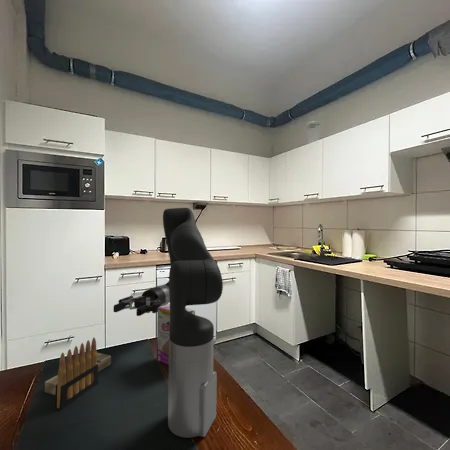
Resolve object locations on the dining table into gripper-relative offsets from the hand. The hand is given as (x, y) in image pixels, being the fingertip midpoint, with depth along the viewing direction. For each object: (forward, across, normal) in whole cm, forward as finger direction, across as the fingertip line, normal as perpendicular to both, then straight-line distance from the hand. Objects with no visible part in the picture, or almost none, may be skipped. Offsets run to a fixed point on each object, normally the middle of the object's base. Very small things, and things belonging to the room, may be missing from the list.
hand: (125, 310), depth 77 cm
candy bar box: (-5, +14, +16) cm, 22 cm away
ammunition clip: (+16, 0, +16) cm, 22 cm away
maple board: (+10, -6, +15) cm, 19 cm away
